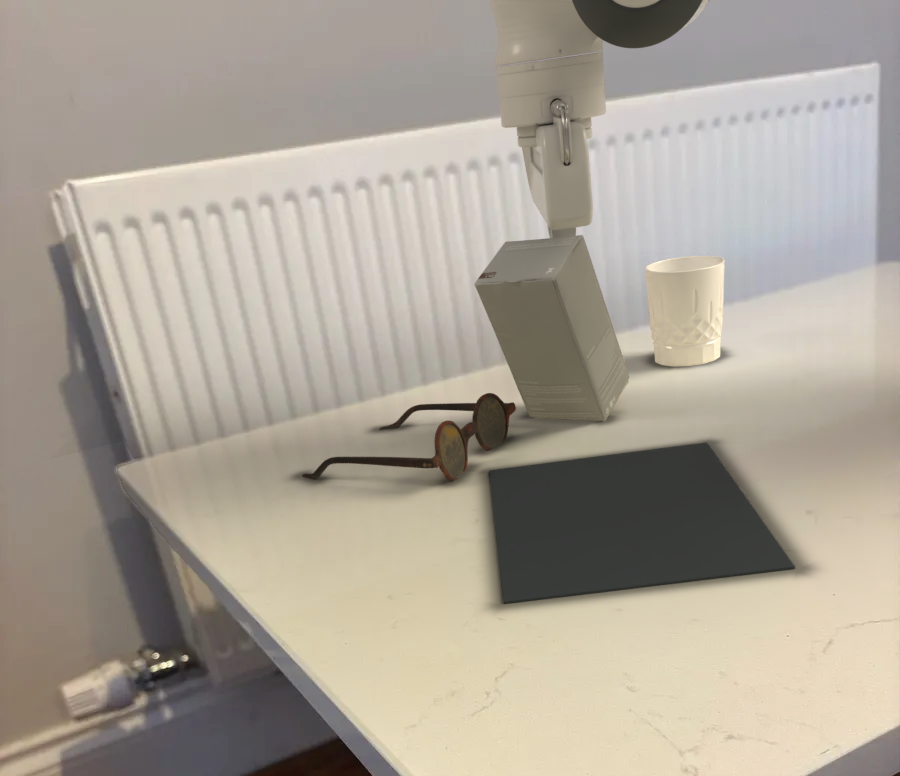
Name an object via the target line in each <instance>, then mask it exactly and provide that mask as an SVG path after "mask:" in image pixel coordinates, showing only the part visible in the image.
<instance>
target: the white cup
mask: <svg viewBox="0 0 900 776" xmlns="http://www.w3.org/2000/svg"><path fill="white" fill-rule="evenodd" d="M725 263H726V260H725V258H723V257H720V256H716V255H689V256H681V257H673V258H667V259H662V260H658V261H655V262H652V263H649V264H647V265H646V266H645V267H644V274H645V284H646V285H645V286H646V295H647V296H646V297H647V307H648V308H647V310H648V314H649V327H650V332H651V339H652V344H653V352H654V363H656V364H659V365H660V366H666V367H693V366H698V365H704V364H707V363H711V362H714V361H716V360H717V359H718V358H720V357H721V339H722V338H721V335H722V332H723V320H724V298H725V297H724V295H725V294H724V293H725V266H726V264H725Z"/></svg>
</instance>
